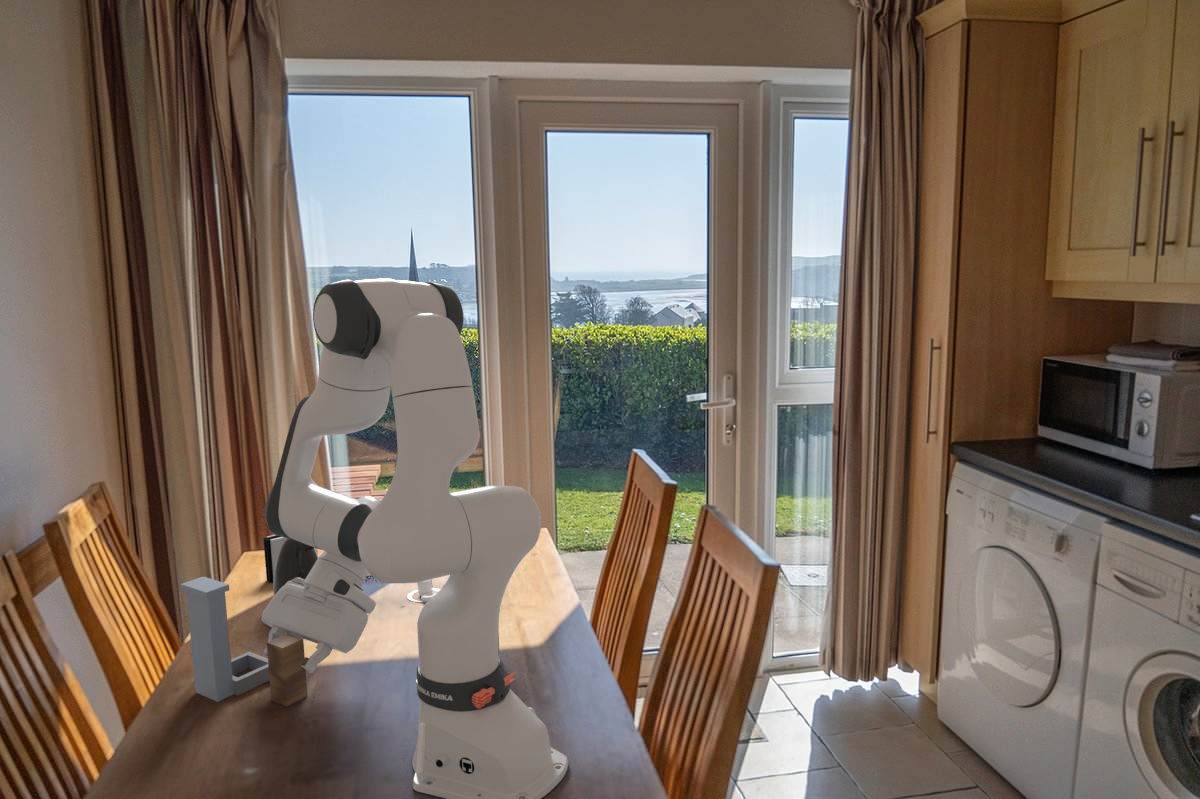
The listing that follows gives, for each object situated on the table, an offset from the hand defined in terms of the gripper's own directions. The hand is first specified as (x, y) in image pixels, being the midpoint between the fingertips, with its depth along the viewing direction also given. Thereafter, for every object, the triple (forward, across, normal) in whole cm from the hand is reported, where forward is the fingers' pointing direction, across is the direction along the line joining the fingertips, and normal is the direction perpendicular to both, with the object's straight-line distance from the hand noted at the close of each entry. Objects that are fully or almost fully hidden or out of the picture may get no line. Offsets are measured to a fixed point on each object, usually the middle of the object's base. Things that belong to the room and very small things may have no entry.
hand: (287, 663), depth 141 cm
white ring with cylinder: (-24, -12, +33) cm, 43 cm away
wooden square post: (+4, 0, +4) cm, 6 cm away
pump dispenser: (-14, -30, +23) cm, 40 cm away
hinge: (-22, -47, +31) cm, 61 cm away
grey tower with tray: (+6, -12, +3) cm, 13 cm away
